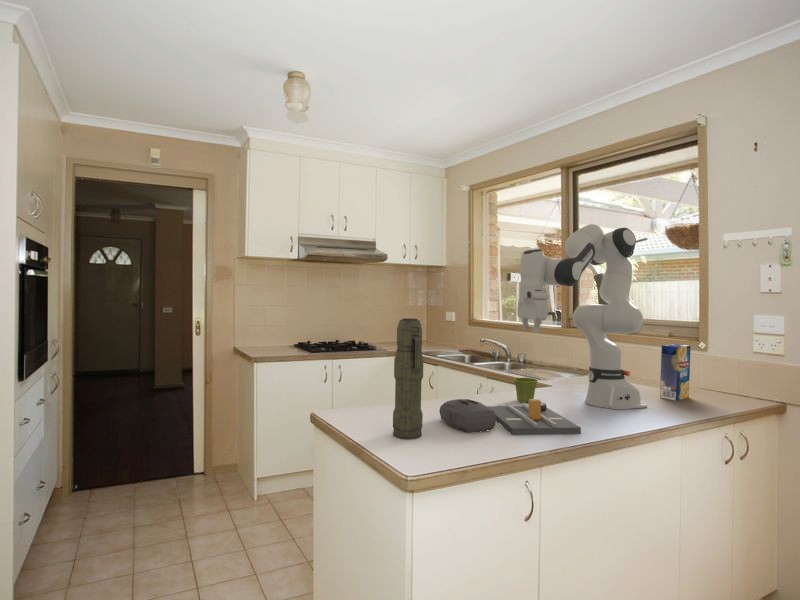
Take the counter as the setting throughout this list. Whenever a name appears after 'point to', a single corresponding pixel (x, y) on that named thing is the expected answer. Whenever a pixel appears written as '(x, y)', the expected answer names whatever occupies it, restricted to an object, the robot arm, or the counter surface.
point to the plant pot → (525, 388)
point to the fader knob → (534, 409)
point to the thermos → (408, 380)
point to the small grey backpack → (468, 415)
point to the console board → (533, 421)
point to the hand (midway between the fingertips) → (530, 331)
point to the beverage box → (675, 371)
